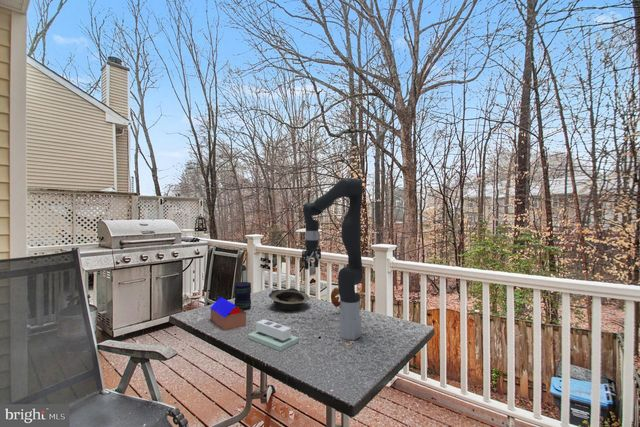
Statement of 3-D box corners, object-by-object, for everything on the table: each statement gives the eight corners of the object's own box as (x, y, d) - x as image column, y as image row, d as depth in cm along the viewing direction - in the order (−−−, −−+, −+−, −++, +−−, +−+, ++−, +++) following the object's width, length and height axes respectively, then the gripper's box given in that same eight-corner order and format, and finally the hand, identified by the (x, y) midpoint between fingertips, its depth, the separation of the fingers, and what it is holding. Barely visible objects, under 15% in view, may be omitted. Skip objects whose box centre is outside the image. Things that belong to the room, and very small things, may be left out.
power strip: (291, 343, 141) (291, 327, 141) (283, 347, 137) (283, 331, 137) (263, 333, 152) (264, 318, 152) (255, 336, 149) (256, 321, 148)
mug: (355, 312, 186) (356, 286, 185) (356, 316, 177) (356, 290, 177) (331, 311, 187) (331, 285, 187) (330, 315, 179) (330, 289, 179)
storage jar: (234, 306, 194) (234, 282, 194) (250, 305, 197) (250, 281, 197) (234, 311, 185) (234, 286, 184) (251, 310, 188) (251, 285, 187)
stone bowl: (271, 300, 207) (272, 286, 207) (309, 303, 207) (310, 289, 207) (264, 312, 182) (266, 296, 182) (307, 316, 182) (309, 300, 182)
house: (224, 331, 156) (224, 307, 155) (209, 320, 171) (210, 298, 171) (246, 325, 163) (247, 303, 163) (230, 315, 179) (231, 295, 178)
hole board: (298, 341, 143) (298, 337, 143) (280, 351, 134) (280, 346, 134) (266, 330, 156) (267, 326, 156) (247, 338, 147) (247, 334, 147)
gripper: (309, 240, 166) (308, 271, 166) (324, 238, 177) (324, 267, 178) (298, 239, 171) (298, 269, 171) (314, 237, 182) (314, 265, 182)
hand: (311, 268), depth 174 cm, fingers open, 8 cm apart
